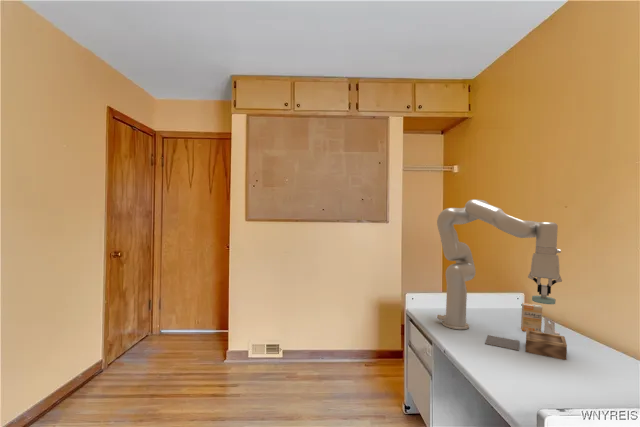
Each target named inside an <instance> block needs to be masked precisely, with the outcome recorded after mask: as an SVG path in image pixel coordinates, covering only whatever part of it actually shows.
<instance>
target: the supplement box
mask: <svg viewBox="0 0 640 427" xmlns="http://www.w3.org/2000/svg"><path fill="white" fill-rule="evenodd" d="M542 320H543V306H542V304H541V305H540V304H533V303H527V302H522V304H521V321H520V323H521V324H520V329H521V331H523V332H526V330H530V331H536V332H542V324H543V323H542Z"/></svg>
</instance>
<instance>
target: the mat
mask: <svg viewBox="0 0 640 427" xmlns="http://www.w3.org/2000/svg"><path fill="white" fill-rule="evenodd" d="M484 345H486V346H493V347H498V348H502V349H508V350H512V351H518V352H519V351H520V340H516V339H510V338H506V337H501V336H496V335H490V334H487V337H486V339H485V342H484Z"/></svg>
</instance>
